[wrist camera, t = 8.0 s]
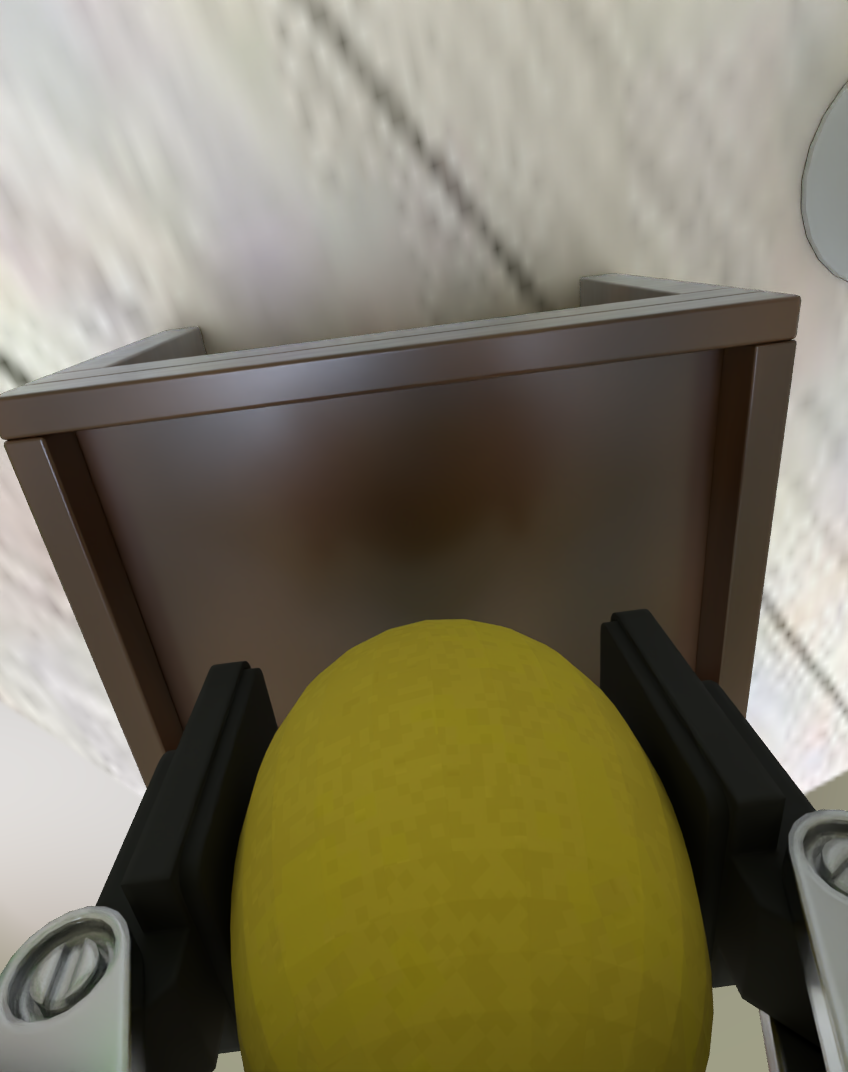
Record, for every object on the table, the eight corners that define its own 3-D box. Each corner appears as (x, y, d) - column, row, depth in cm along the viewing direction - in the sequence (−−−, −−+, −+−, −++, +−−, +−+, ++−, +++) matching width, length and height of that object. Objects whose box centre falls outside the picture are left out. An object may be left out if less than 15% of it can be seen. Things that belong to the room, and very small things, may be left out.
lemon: (582, 756, 13) (837, 1411, 6) (316, 792, 13) (229, 1493, 6) (578, 512, 11) (1004, 1093, 3) (253, 556, 11) (-32, 1234, 3)
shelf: (615, 272, 21) (804, 294, 11) (611, 565, 25) (741, 750, 16) (163, 330, 20) (-18, 399, 11) (243, 613, 25) (160, 826, 16)
